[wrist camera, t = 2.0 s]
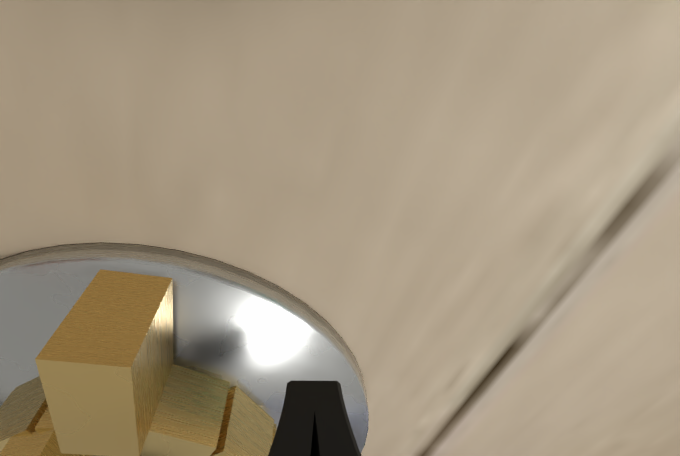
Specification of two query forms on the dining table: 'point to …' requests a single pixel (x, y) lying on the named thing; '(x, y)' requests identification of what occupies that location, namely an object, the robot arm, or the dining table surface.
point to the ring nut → (127, 386)
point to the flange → (184, 322)
